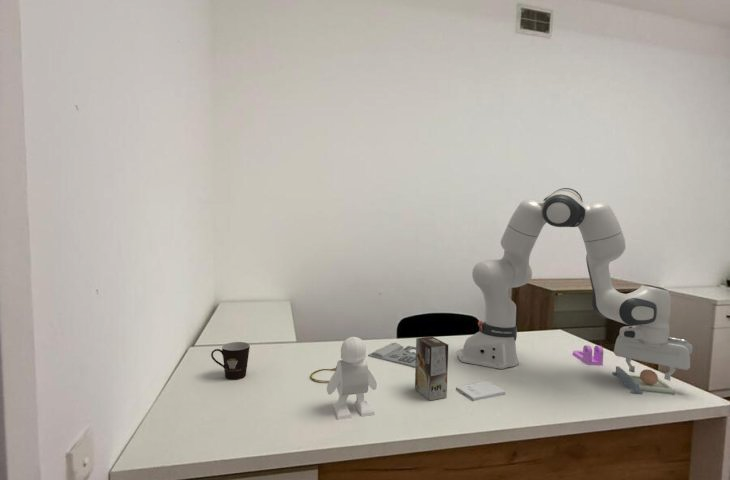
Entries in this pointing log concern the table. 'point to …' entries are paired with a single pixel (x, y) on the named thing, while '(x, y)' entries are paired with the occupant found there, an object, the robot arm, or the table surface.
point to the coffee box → (431, 368)
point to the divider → (627, 380)
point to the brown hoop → (321, 380)
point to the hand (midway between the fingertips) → (649, 375)
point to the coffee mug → (234, 359)
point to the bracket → (590, 355)
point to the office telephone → (396, 354)
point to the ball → (649, 377)
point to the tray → (653, 386)
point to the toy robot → (352, 378)
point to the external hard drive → (480, 390)
